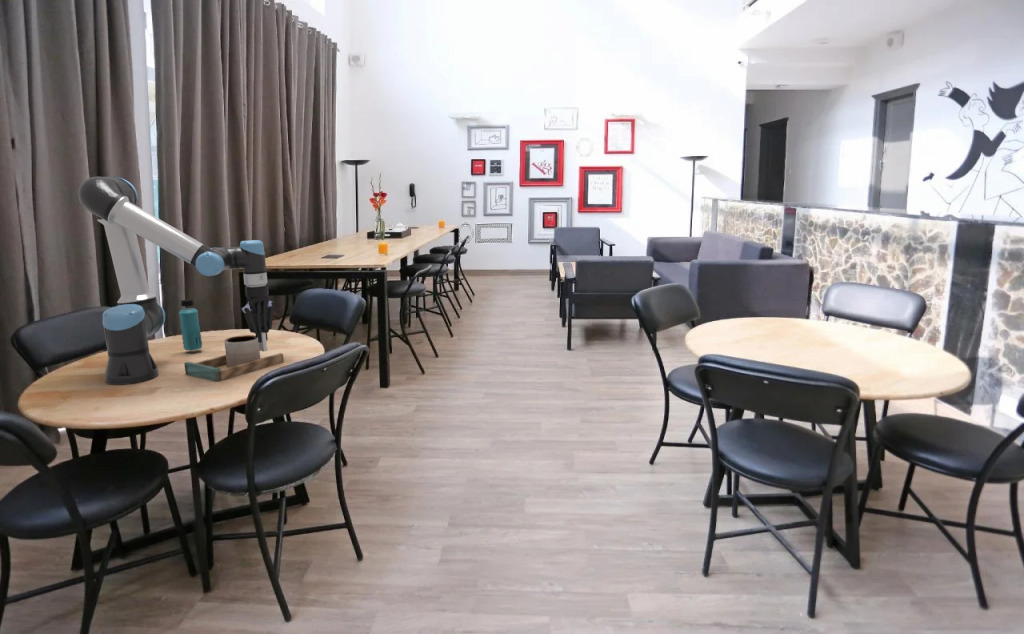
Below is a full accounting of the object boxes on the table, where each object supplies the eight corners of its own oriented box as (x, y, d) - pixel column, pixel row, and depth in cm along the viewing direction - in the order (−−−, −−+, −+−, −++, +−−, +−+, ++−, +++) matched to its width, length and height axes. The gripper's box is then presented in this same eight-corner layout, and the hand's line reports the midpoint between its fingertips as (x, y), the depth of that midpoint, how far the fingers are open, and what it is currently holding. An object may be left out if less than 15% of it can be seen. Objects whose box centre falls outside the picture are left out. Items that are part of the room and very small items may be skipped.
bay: (217, 381, 209) (216, 369, 208) (185, 374, 218) (184, 362, 217) (283, 361, 231) (282, 350, 230) (252, 355, 239) (251, 345, 239)
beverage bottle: (198, 354, 243) (191, 301, 239) (180, 354, 243) (173, 301, 239) (206, 349, 250) (200, 298, 245) (189, 349, 250) (182, 298, 246)
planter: (220, 367, 225) (217, 340, 223) (246, 359, 234) (243, 333, 232) (241, 371, 220) (238, 343, 218) (267, 363, 229) (265, 336, 227)
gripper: (247, 288, 221) (254, 356, 226) (278, 283, 232) (285, 347, 237) (233, 287, 225) (240, 353, 230) (264, 281, 235) (271, 345, 240)
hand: (263, 350), depth 233 cm, fingers closed
